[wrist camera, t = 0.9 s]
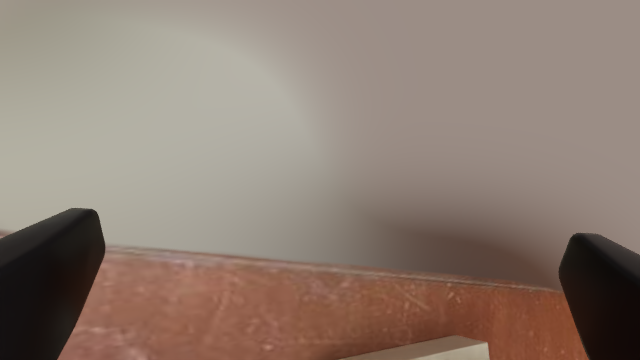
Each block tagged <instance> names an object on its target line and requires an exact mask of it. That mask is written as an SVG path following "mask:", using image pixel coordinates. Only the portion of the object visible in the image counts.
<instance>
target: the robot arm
mask: <svg viewBox="0 0 640 360" xmlns="http://www.w3.org/2000/svg"><path fill="white" fill-rule="evenodd" d="M104 255H105V241H104V237H103V233H102V228H101V225H100V220H99V216H98V214H97V212H96V211H95V210H93V209H83V208H71V209H68V210H66V211H64V212H61V213H59V214H57V215H54V216H52V217H50V218H48V219H45V220H43V221H40V222H38V223H36V224H33V225H31V226H29V227H26V228H24V229H22V230H19V231H17V232H15V233H12V234H10V235H8V236H5V237H3V238H1V239H0V360H57V359H58V357H59V355H60V353H61V352H62V350H63V348H64V346H65V344H66V342H67V341H68V339H69V337H70V335H71V333H72V331H73V329H74V327H75V325H76V323H77V321H78V318H79V316H80V314H81V311H82V309H83V307H84V304H85V302H86V299H87V297H88V294H89V292H90V290H91V287H92V285H93V282H94V280H95V277H96V275H97V273H98V270H99V268H100V265H101V263H102V260H103V258H104ZM559 279H560V282H561V285H562V288H563V291H564V294H565V297H566V299H567V302H568V305H569V308H570V311H571V314H572V316H573V319H574V322H575V325H576V328H577V331H578V333H579V336H580V339H581V342H582V344H583V347H584V349H585V352H586V354H587V356H588V358H589V360H640V255H639V254H637V253H635V252H633V251H631V250H629V249H627V248H625V247H623V246H621V245H619V244H617V243H615V242H613V241H611V240H609V239H607V238H605V237H603V236H601V235H598V234H592V233H576V234H575V235H573V236H572V237H571V238H570V240H569V243H568V245H567V248H566V251H565V253H564V256H563V259H562V261H561V264H560V267H559Z"/></svg>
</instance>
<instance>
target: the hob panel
mask: <svg viewBox="0 0 640 360" xmlns="http://www.w3.org/2000/svg"><path fill="white" fill-rule="evenodd" d="M337 360H489V350H488V343H487V342H484V341H479V340H475V339H470V338H466V337H462V336H457V335H453V336H449V337H444V338H439V339H434V340H429V341H424V342H419V343H415V344H410V345H405V346H400V347H395V348H390V349H386V350H381V351H376V352H371V353H366V354H361V355H356V356H352V357H347V358H342V359H337Z"/></svg>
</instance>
